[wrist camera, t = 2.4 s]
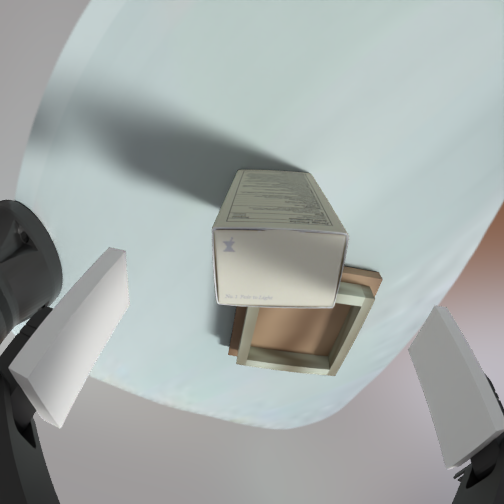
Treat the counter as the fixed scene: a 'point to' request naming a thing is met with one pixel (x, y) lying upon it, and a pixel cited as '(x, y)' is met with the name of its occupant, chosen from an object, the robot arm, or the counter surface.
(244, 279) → the skincare box
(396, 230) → the counter surface
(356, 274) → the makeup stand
